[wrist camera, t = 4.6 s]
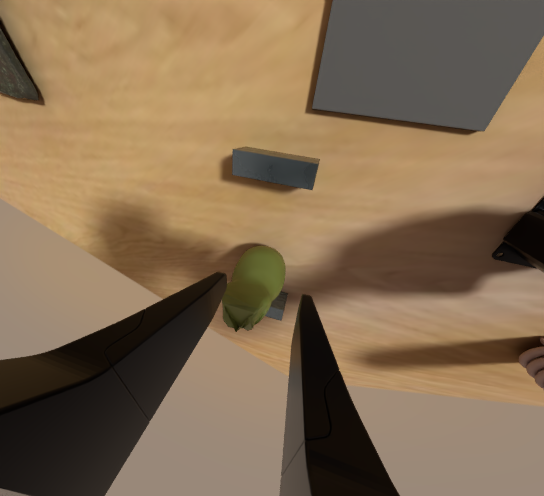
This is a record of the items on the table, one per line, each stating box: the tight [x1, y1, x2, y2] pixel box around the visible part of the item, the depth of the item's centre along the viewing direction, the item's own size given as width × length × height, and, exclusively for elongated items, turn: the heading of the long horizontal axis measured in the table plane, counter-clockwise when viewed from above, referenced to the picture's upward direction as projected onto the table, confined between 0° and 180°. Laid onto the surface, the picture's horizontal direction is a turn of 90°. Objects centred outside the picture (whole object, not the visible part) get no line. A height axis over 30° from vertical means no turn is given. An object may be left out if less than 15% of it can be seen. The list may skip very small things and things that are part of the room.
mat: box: [312, 0, 544, 131], centre depth 12 cm, size 12×10×1 cm
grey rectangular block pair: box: [232, 147, 320, 321], centre depth 22 cm, size 7×19×3 cm, turn 173°
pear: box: [222, 246, 285, 332], centre depth 20 cm, size 6×5×10 cm
